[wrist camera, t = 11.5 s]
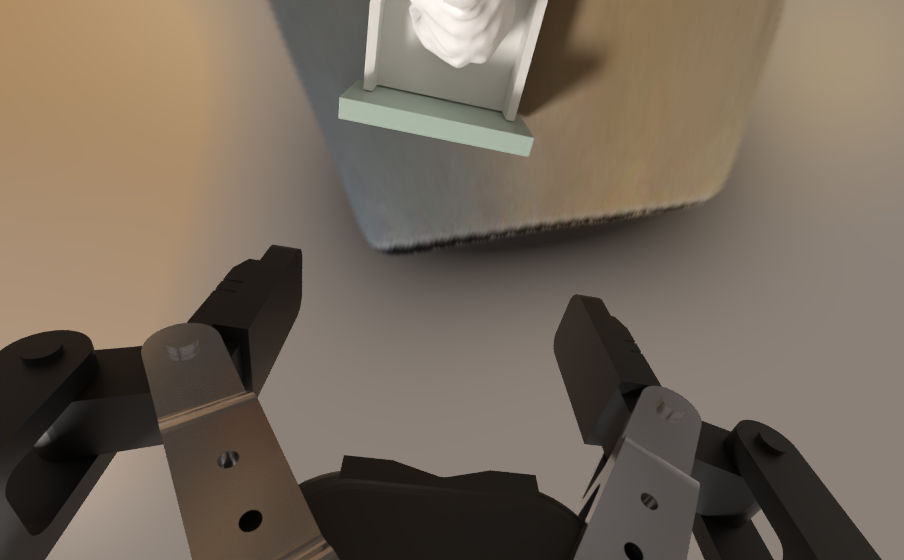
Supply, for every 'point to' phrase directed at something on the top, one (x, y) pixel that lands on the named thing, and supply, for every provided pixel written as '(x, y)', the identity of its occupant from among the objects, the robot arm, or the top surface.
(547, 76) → the top surface
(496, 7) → the white rounded figure
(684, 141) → the top surface
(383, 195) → the top surface
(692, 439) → the robot arm
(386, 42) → the drawer
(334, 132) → the top surface
